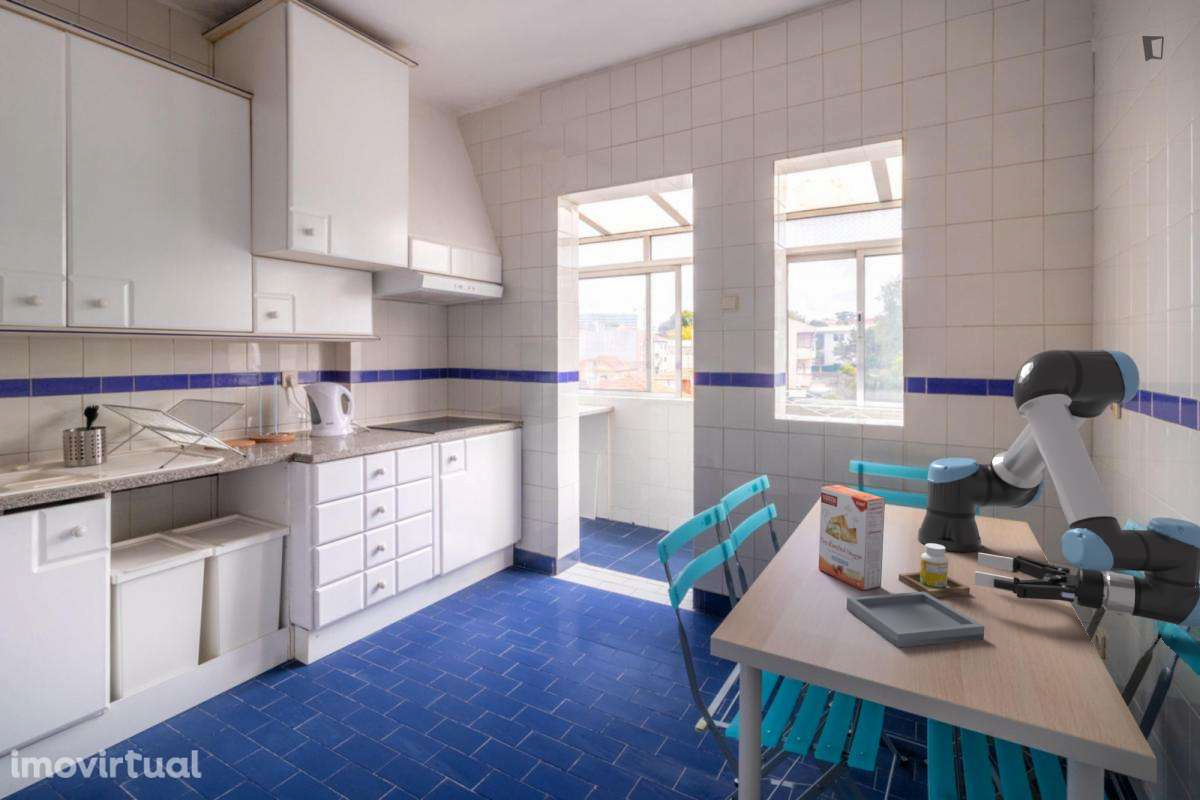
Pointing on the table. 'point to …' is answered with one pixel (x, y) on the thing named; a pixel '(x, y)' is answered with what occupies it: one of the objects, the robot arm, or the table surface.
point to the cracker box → (851, 536)
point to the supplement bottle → (934, 567)
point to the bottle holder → (954, 589)
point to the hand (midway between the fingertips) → (976, 567)
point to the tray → (914, 619)
